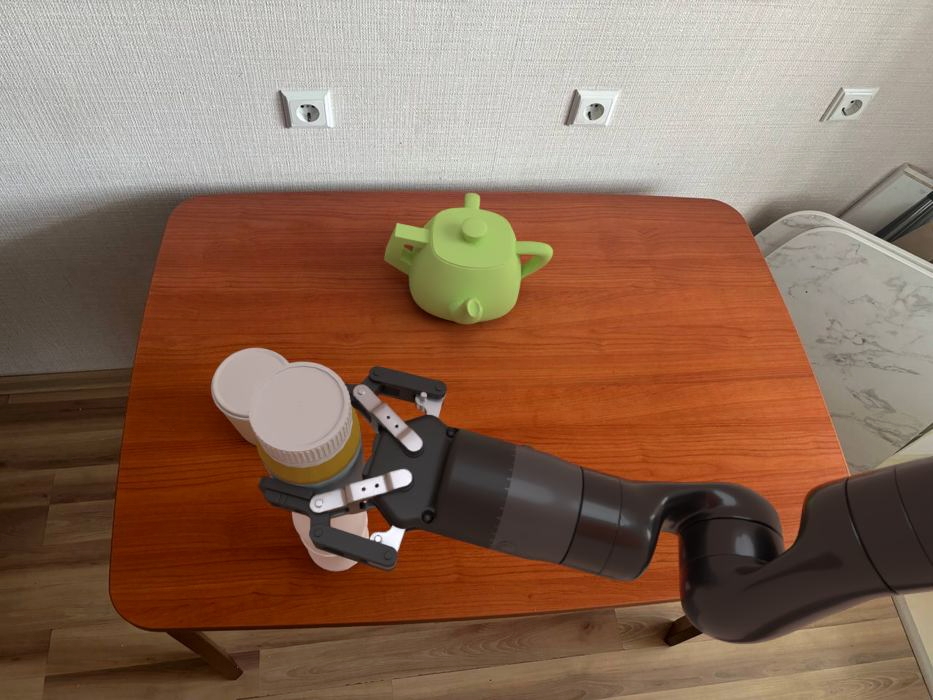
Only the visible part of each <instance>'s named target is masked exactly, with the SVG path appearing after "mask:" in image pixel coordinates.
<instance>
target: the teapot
mask: <svg viewBox="0 0 933 700" xmlns="http://www.w3.org/2000/svg"><path fill="white" fill-rule="evenodd" d="M480 204H481V196H480V195H479V194H478V193H475V192H467V193H465V195H464V200H463V205H462V207H452V208H447V209H443V210H441V211H439V212H438V213H436V214H435V215H434V216H433V217H432V218H431V219H429V221H427V223H426V224H424V226H423V227H418V226H413V225H409V224H403V223H399V222H396V224H395V226H394V229H393V231H392V233H391V235H390V238H389V240H388V242H387V245H386V247H385V253H384V259H383V261H384V262H386V263H387V264H389V265H391V266H393V267H394V268H396V269H398V270H399V271H400V272H402V273H404V274H406V275H407V276H408V285H409V291H410V294H411V297H412V299H413V300H414V302H415V303H416V305H417V306H418V307H420V308H421V309H422V310H423V311H425V312H426V313H428V314H430V315H432V316H434V317H438V318H440V319H443V320H447V321H452V322H455V323H456V324H459V325H466V326H467V325H474V324H476V323H482V322H489V321H493V320H496V319H500V318H502V317H503V316H506V315H507V314H509V312H511V310H513V308H514V306H515V305H516V303H517V301H518V298H519V294H520V289H521V280H523V279H524V278H527V277H529V276H530V275H532V274H533V273H536V272H538V271H539V270H540V269H542V268H543V267H545V266H546V265H547V264H548V263H549V262H550V261H551V259H552V257H553V255H554V250H553V248H552V245H549V244H548V243H545V242H542V241H541V242H540V241H531V240H522V241H521V240H517V237H516V235H515V231H514V230H513V227H512V226H511V223H510V222H509V221H508V220H507V218H505V217H503V216H502V215H500V214H498V213H496V212H493V211H489V210H485V209H481V208H480ZM405 245H408V246H411V247H413V248H412V250H410V249H408V248H406V247H405ZM521 255H527V256H528V255H529V256H533V257H532V258H531V259H530V260H527V262H525V263H523V264H522V261H521Z"/></svg>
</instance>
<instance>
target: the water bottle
mask: <svg viewBox="0 0 933 700" xmlns="http://www.w3.org/2000/svg"><path fill="white" fill-rule="evenodd" d="M364 502H367V501H364ZM367 512H368V511H365V512H361V513H357V514H353V515H350V514H348V515H344V516H340V517H336V518H333V519H331V527H333V528H336V529H339V530H343V531H346V532H349V533H352V534H355V535H358V536H361V537H364V538H367V539H369V538H370V534H369V527H368V523H369V521H368V519H369V517H368V513H367ZM291 516H292V517H291V518H292V522H293V527H294V528H295V530H296V532H297V533H298V535H299V538H300V540H301V542H302V543H303V545H304V546H305V548H306V549H307V551H308V554H309V556H310V558H311V560H312V561H313V562H314V563H315V565H317V566H319V567H320V568H322V569H323V570H325V571H326V570H327V571H330V572H342V571H346V570H349V569H350V568H352V567H354V566H355V565H356V564H358V562H356V561H353V560H350V559H347V558H344V557H341V556H338V555H335V554H332V553H329V552H325V551H322V550H319V549H317V548H316V547H315V546H314V544H313V542H312V541H311V539H310V537H309V531H310V518H309V517H308V516H305V515H302V514H298V513H295V512H291Z"/></svg>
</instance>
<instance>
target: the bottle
mask: <svg viewBox="0 0 933 700" xmlns="http://www.w3.org/2000/svg"><path fill="white" fill-rule="evenodd" d="M288 363H289V364H286V365H283V366H280V367H278V368H276V369H274V370H273V371H271V372H270V373H268V374H267V375H266V376H265V377H264V378H263V379H262V380H261V381H260V382H259V383H258V384H257V386H256V387H255V389H254V391H253V393H252V395H251V398H250V402H249V410H248V413H249V419H250V420H249V422H250V424H251V428H252V430H253V432H254V434H255V435H256V445H255V446H256V449H257V453H258V457H259V458H260V460H261V462H262V465H264V468H265V469H266V470H267V472H268V474H269V476H270V478H273V479H276V480H280V481H283V482H286V483H290V484H293V485H297V486H301V487H305V488H308V489H312V490H314V493H315V495H319V494H322V493H326V492H330V491H334V490H337V489H341V488H343V487H344V486H346V485H348V484H351V483H355V482H359V481H362V472H363V469H364V466H365V464H366V461H365V455H364V445H363V438H362V429H361V423H360V420H359V417H358V414H357V413H358V412H357V410H356V409H355V408H353V406H352V405H351V401H350V396H349V392H348V390H347V387H346V386H345V383H346V382H344V381H343V380H342V378H341V377H340V376H339V375H338V374H337V373H336V372H335V371H333V370H332V369H331V368H329V367H328V366H325V365H322V364H320V363H317V362H311V361H294V362H288Z"/></svg>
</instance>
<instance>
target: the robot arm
mask: <svg viewBox="0 0 933 700" xmlns="http://www.w3.org/2000/svg"><path fill="white" fill-rule="evenodd" d="M344 383H345V386H346V387H347V390H348V392H349V396H350V401H351V405H352V406H353V408H354V409H355V411H356V412H357V413H359V414H360V415H361V417H363V419H364V420H366V422H367V423H368V424H369V425H370V427H371V429H372V430H373V431H374V433H375V435H374V438H373V441H372V445H371V446H372V449H371V455H370V457H369V458H368V460H367V461H365V466H364V469H363V472H362V481H359V482H355V483H351V484H348V485H346V486H344V487H343V488H341V489H337V490H334V491H330V492H326V493H322V494H319V495H315V493H314V490H312V489H308V488H305V487H301V486H297V485H293V484H290V483H286V482H283V481H280V480H276V479H273V478H272V477H269V476H265V475H263V476H261V477H260V480H259V482H258V484H257V488H258V489H259V491H260V492H261V493H262V494H263V495H262V497H263V498H264V500H265V501H266V502H267V503H268V504H269V505H270V506H271V507H274V508H278V509H281V510H284V511H285V510H286V511H288V512H291V513H292V512H295V513H298V514H302V515H305V516H308V517H309V518H310V531H309V537H310V539H311V541H312V542H313V544H314V546H315V547H316V548H317V549H319V550H322V551H325V552H329V553H332V554H335V555H338V556H341V557H344V558H347V559H350V560H353V561H356V562H357V563H359V564H362V565H364V566H365V565H366V566H368V567H372V568H375V569H377V570H380V571H382V572H383V571H384V572H387V573H388V572H389V573H390V572H393V570H395V569H396V568H397V565H398V559H399V558H398V557H399V551H400V548H401V545H402V542H403V539H404V536H405V533H408V532H412V531H424V532H427V533H432V534H434V535H437V536H442V537H445V538H449V539H451V540H456V541H459V542H462V543H466V544H470V545H473V546H477V547H481V548H483V549H487V550H490V551H495V552H497V553H498V552H499V553H502V554H505V555H508V556H512V557H516V558H518V559H519V558H520V559H524V560H528V561H536V562H544V563H550V564H555V565H558V566H561V567H566V568H569V569H572V570H576V571H579V572H583V573H586V574H590V575H594V576H597V577H601V578H603V579H604V578H605V579H608V580H612V581H617V582H625V583H626V582H629V583H630V582H633V581H636V580H638V579H640V578H641V577H642V576H644V574H645V573H646V572H647V570H648V569H649V567H650V565H651V563H652V561H653V558H654V555H655V552H656V549H657V546H658V542H659V538H660V536H661V535H660V534H661V533H668V534H671V535H674V536H676V537H677V554H678V555H677V556H678V589H679V591H678V592H679V600H680V605H681V608H682V611H683V614H684V615H685V617H686V619H687V620H689V622H690V623H691V624H692V626H693V627H695V628H696V629H697V630H698V631H700V632H701V633H703V634H704V635H705V636H708V637H710V638H712V639H713V640H716V641H720V642H723V643H727V644H731V645H732V644H734V645H755V644H761V643H767V642H770V641H773V640H777V639H779V638H782V637H785V636H788V635H790V634H792V633H795V632H797V631H799V630H801V629H804V628H805V627H808V626H810V625H812V624H814V623H816V622H818V621H821V620H823V619H825V618H828V617H830V616H833V615H836V614H839V613H842V612H844V611H848V610H849V609H852V608H854V607H856V606H859V605H862V604H864V603H868V602H870V601H873V600H877V599H882V598H889V597H896V596H906V595H907V596H908V595H914V594H915V595H916V594H923V593H930V592H933V456H932V455H931V456H926V457H922V458H916V459H912V460H908V461H904V462H900V463H898V464H897V463H896V464H892V465H888V466H883V467H880V468H875V469H871V470H868V471H863V472H860V473H855V474H851V475H848V476H844V477H840V478H836V479H832V480H829V481H825V482H823V483H820V484H817V485H815V486H814V487H812V488H811V489H810V490H809V491H807V493H806V494H805V496H804V498H803V501H802V506H801V511H800V521H799V526H798V531H797V534H796V537H795V539H794V542H793V543H792V545H790V547H788V548H787V549H786V545H785V539H784V533H783V526H782V520H781V518H780V515H779V513H778V511H777V509H776V507H775V506H774V505H773V503H771V502H770V501H769V500H768V499H767V498H766V497H765V496H764V495H762V494H760V493H759V492H757V491H756V490H754V489H752V488H750V487H748V486H745V485H743V484H739V483H735V482H731V481H669V480H640V479H631V478H626V477H623V476H619V475H616V474H612V473H608V472H604V471H601V470H597V469H594V468H590V467H587V466H583V465H580V464H577V463H574V462H571V461H568V460H567V459H564V458H562V457H559V456H556V455H555V454H552V453H550V452H547V451H542V450H539V449H536V448H535V447H533V446H530V445H527V444H517V443H514V442H511V441H507V440H504V439H499V438H495V437H492V436H489V435H485V434H481V433H478V432H475V431H471V430H467V429H463V428H459V427H453V426H449V425H448V424H446V423H445V422H443V420H441V418H440V413H441V411H442V407H443V406H444V404H445V401H446V397H447V391H448V390H447V389H448V387H447V384H446V383H445V382H444V381H442V380H438V379H435V378H429V377H426V376H421V375H417V374H414V373H413V374H412V373H409V372H405V371H401V370H396V369H392V368H388V367H384V366H379V365H376V366H372V367H371V368H370V369H369V371H368V375H367V376H366V377H365V378H364V380H362V381H361V382H360V383H358V384H350V383H347V382H344ZM379 396H382V397H386V398H387V397H388V398H391V399H395V400H399V401H404V402H407V403H412V404H414V407H415V408H416V410H419V411H421V412H423V413H424V414H423V415H421V416H417V417H414V418H410V419H407V420H403V419H402V418H401V417H400V416H399V415H398V414H397V413H396V412H395V410H393V408H391V406H390V405H388V403H386V402H385V401H382V400H381V399H380V398H379ZM364 501H366V502H364ZM374 509H376V510H377V511H378V512H379V513H380V515H381V516H382V517H383V519H384V520H385V521H386V522H387V524H388V526H389V527H390V528H389V530H387V531H383V532H382V531H376V532H373V533H372V534H371V535H369V539H367V538H364V537H361V536H358V535H355V534H352V533H349V532H346V531H343V530H339V529H336V528H333V527H331V519H333V518H336V517H340V516H344V515H348V514H350V515H353V514H357V513H361V512H365V511H366V512H368V511H371V510H374Z"/></svg>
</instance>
